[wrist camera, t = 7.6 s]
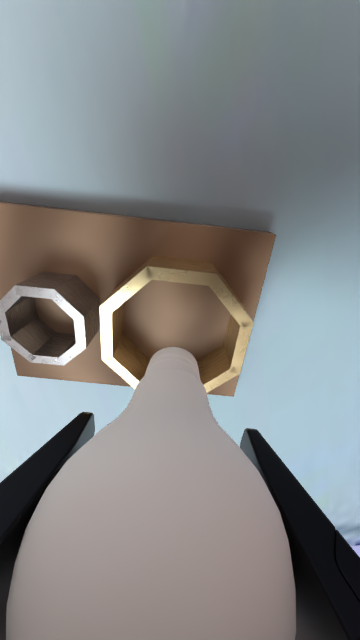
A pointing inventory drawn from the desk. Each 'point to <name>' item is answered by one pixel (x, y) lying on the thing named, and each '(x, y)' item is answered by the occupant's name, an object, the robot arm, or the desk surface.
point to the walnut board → (116, 266)
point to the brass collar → (116, 344)
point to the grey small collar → (36, 336)
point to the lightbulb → (156, 531)
